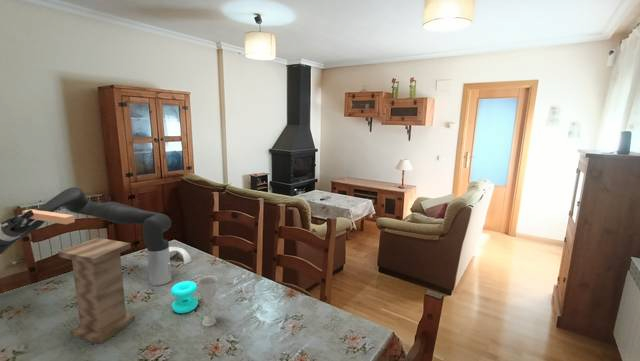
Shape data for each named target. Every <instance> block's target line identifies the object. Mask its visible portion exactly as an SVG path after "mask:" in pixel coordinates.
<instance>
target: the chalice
mask: <svg viewBox="0 0 640 361" xmlns="http://www.w3.org/2000/svg"><path fill="white" fill-rule="evenodd" d="M217 281H218V277H217V276H215V275H210V274H209V275H203V276H201V277H199V278H198V279H197V283H198V285H199V286H198V289H199V294H200V296H201V298H202V301H203V302H204V303H205V304H206V308H207V310H206V313H207V315H205V316H204V318H203V320H202V325H203V326H205V327H211V326H214V325H215V324H216V323H217V320H216V317H215V316H214V315H213V314H211V312H212V310H211V306H212V305H211V303H212V302H213V300H214V298H215V296H216V294H217Z"/></svg>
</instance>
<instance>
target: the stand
mask: <svg viewBox="0 0 640 361" xmlns="http://www.w3.org/2000/svg"><path fill="white" fill-rule="evenodd" d="M131 248H132V247H131V242H127V241H126V242H124V241H119V240H114V239H107V238H102V237H96V238H94V239H91V240H87V241H85V242H84V241H83V242H82V243H78V244H77V245H73V246H70V247H67V248H65V249H62V250H59V251H58V252H57V253H58V254H57V255H58V258H61V259H67V260H71V262H72V264H71V265H72V272H73V278H74V279H73V280H74V285H75V286H74V287H75V296H76V303H77V309H78V310H77V312H78V319H79V320H78V321H79V325H77V326H76V327H74V328H72V329H71V330H70V335H71V336H72V337H76V338H79V339H83V340H86V341H90V342H93V343H97V344H100V345H101V344H103V343H105V342H106V341H107V340H108V339H111V338H112V337H113V336H115V335H116V334H117V333H119V332H120V331H121V330H123V329H125V328H126V327H127V326H129V325H131V324H132V323H133V322H135V321H136V316H135V315H134V314H131V313H127V312H126V303H125V300H126V299H125V290H124V280H123V270H122V269H123V268H122V259H121V253H124V252H126V251H128V250H131Z"/></svg>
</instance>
